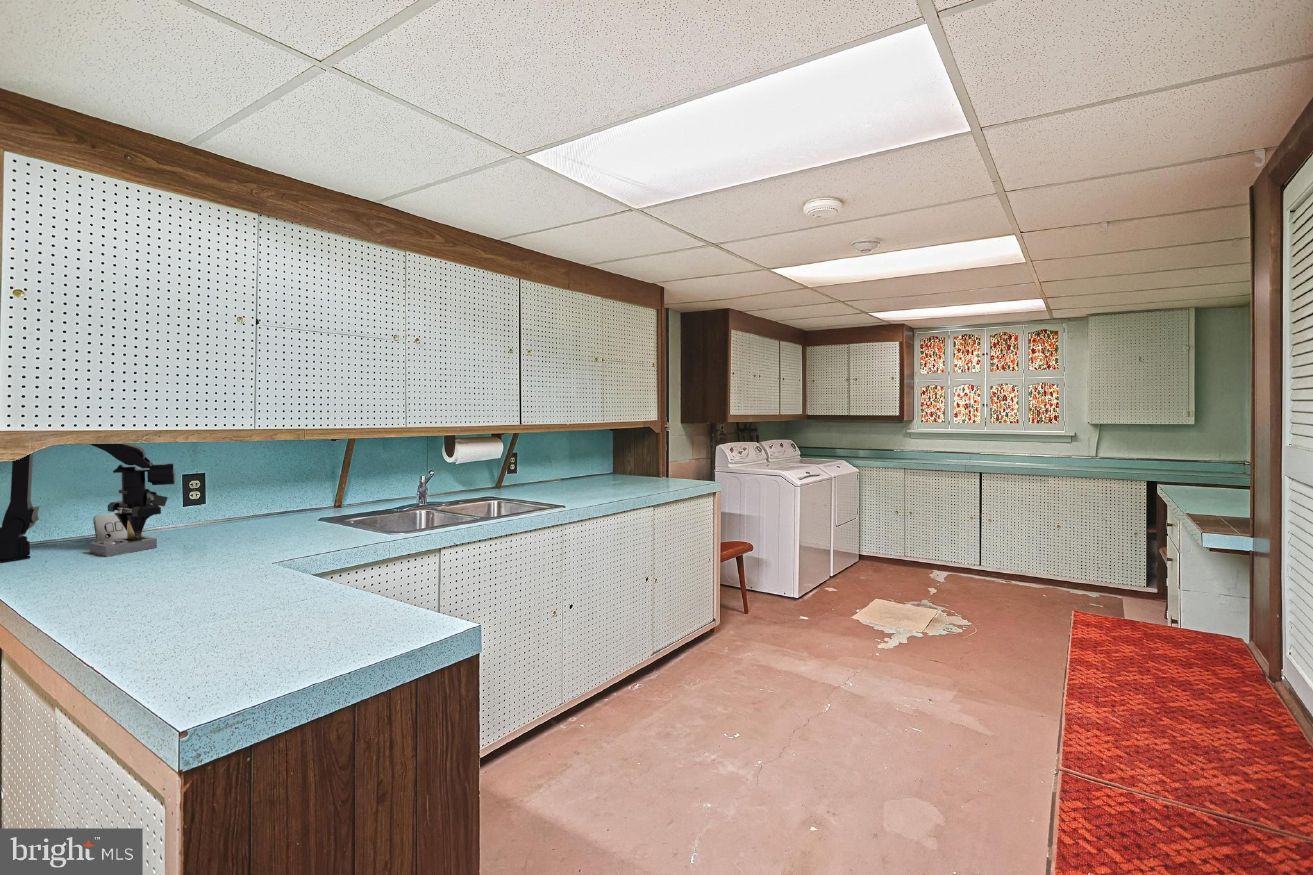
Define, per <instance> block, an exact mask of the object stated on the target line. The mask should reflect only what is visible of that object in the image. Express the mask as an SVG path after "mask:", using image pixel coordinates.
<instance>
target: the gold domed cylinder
mask: <svg viewBox="0 0 1313 875" xmlns="http://www.w3.org/2000/svg"><path fill="white" fill-rule="evenodd" d="M142 536H143V532H142V533H141V535H140V536H136V535H135V533H134V531H133V529H132V526H131V524H130V522H129V520H127V541H135V540H141V539H142Z"/></svg>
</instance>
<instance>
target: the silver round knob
mask: <svg viewBox="0 0 1313 875" xmlns="http://www.w3.org/2000/svg"><path fill="white" fill-rule="evenodd" d="M116 543H120V540H109V541H105V542H104V545H110V544H116Z"/></svg>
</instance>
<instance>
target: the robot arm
mask: <svg viewBox="0 0 1313 875" xmlns="http://www.w3.org/2000/svg"><path fill="white" fill-rule="evenodd" d="M89 445H90V446H93V447H95V448H97V449H100V450H102V451H104V452H106V453H107V454H109V455H110V456H112V457H113V458H115V459H116V460H118V461H119V462H121V464H119V465H118V466H117V468H115V469H113V471H112V473H113V474H114V473H115V474H116V473H117V474H119V473H121V489H119V490H118V494H121V500H120V501H110V502H109V503H108V504H107V512H111V513H115V515H116V516H117V517H118V519H119V520H120V522H121V523H122V525H123V526H124V528H125V529H126V531H127V520H129V522H130V524H131V526H132V529H133V531H134V533H135V535H136V536H140V535H141V533H142V534H143V530H144V526H145V525H146V523H147V522H146V521H147V520H148V519H149V518H150V517H152V516H155V515H156V516H157V515H161V514H162V507H166V504H167V500H168V498H169V497H168V496H164V495H159V494H158V493H157V491H152V490H150V489H149V488H146V480H147V483H149V484H151V485H152V486H167V485H169V486H170V485H171V486H172V485H173V486H174V485H175V484H176V472H175V464H174V463H165V464H164V463H161V464H155V463H153V462H152V460H150V459H149V458H148V457H147V456H146V451H145V449H144V448H143V447H141V446H138V445H135V444H132V443H128V444H89ZM34 452H35V451H34ZM34 452H33V453H32V454H29V455H27V456H26V457H24V458H22V459H20V460H16V461H11V462H12V464H11V480H10V484H11V485H10V496H9V497H10V499H9V504H8V506H7V509H6V511H5V513H4V516H3V519H2V522H1V527H0V563H6V562H12V561H17V560H25V559H31V555H30V554H31V546H30V545H31V543H30V541H29V540H28V537H27V535H26V533H27V532H28V530H30V529H31V528H33V527H34V526H35V524H36V522H37V521H39V520H40V518H39V516H38V515H39V510H40V506H37V505H36V506H34V505H33V504H32V501H31V498H32V496H31V495H32V480H33V479H32V478H33V463H34V461H33V460H34ZM123 464H124V465H123ZM125 465H127V466H125ZM137 467H138V468H139V469H137ZM146 472H147V474H146ZM146 475H147V479H146ZM115 511H117V512H115Z"/></svg>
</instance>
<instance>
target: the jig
mask: <svg viewBox="0 0 1313 875" xmlns="http://www.w3.org/2000/svg"><path fill="white" fill-rule="evenodd" d="M112 540H120V543H116V544H110V545H104V542H105V541H109V540H105V541H99V542H97V541H93V542H89V543H88V546H89V554H93V555H98V556H102V557H106V558H107V557H113V556H119V555H124V554H130V553H137V552H142V551H147V550H148V551H149V550H154V549H157V548H158V539H157V538H155V537H152V536H151V537H149V536H147V535H146V536H145V535H142V539H141V540H135V541H127V537H125V538H118V539H112Z"/></svg>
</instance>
